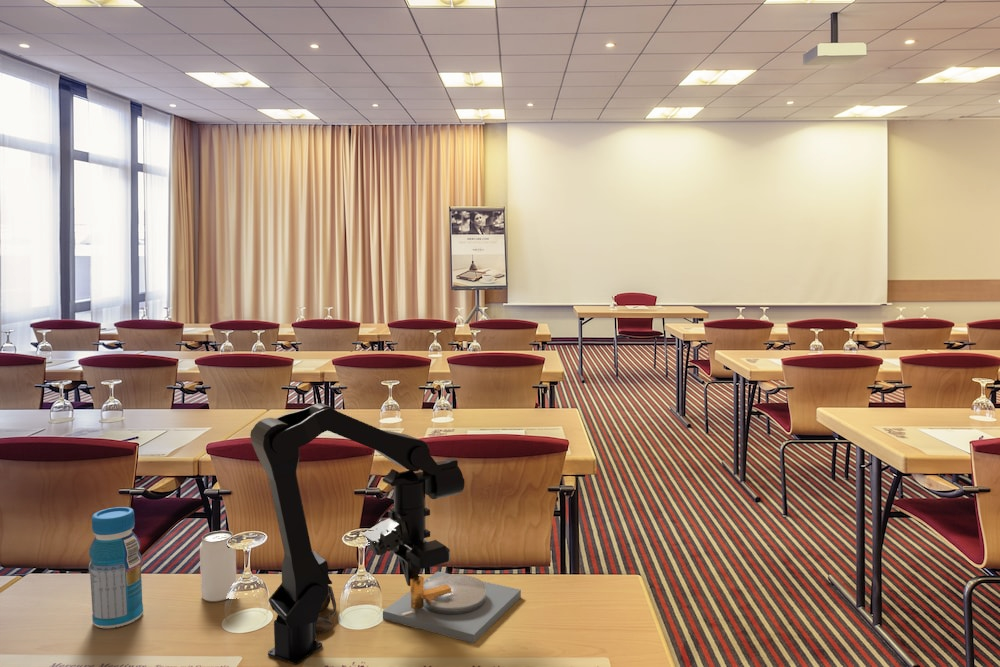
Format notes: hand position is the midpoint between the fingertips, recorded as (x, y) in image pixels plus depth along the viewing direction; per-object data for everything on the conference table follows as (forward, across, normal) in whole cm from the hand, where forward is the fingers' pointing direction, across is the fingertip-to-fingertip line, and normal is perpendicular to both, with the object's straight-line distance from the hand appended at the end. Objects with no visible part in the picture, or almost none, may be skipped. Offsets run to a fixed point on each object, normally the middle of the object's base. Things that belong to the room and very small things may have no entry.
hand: (410, 585), depth 129 cm
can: (+6, -29, -27) cm, 40 cm away
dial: (+3, +3, +6) cm, 8 cm away
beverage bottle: (+6, -30, -44) cm, 54 cm away
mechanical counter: (+6, -9, -16) cm, 19 cm away
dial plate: (+5, +3, +7) cm, 10 cm away
